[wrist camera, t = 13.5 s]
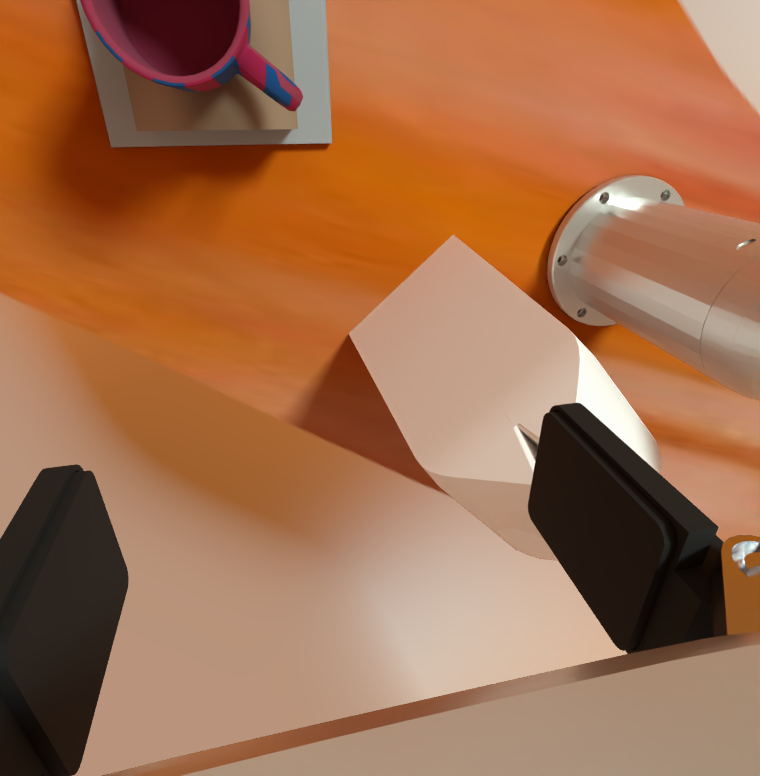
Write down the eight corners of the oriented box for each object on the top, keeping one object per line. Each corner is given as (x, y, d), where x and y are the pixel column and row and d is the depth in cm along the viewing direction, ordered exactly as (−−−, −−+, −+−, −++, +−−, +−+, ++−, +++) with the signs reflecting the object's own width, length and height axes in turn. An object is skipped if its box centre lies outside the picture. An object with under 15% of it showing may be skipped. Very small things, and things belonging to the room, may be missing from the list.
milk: (530, 331, 46) (791, 542, 23) (435, 414, 48) (591, 679, 26) (453, 234, 40) (702, 391, 18) (348, 333, 42) (453, 585, 20)
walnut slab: (280, -49, 29) (283, -70, 26) (293, 126, 34) (298, 129, 30) (112, -57, 28) (91, -81, 24) (149, 128, 32) (136, 131, 28)
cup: (164, -104, 24) (135, -171, 18) (322, 68, 29) (340, 57, 23) (88, 17, 26) (39, -9, 20) (250, 162, 30) (249, 175, 25)
